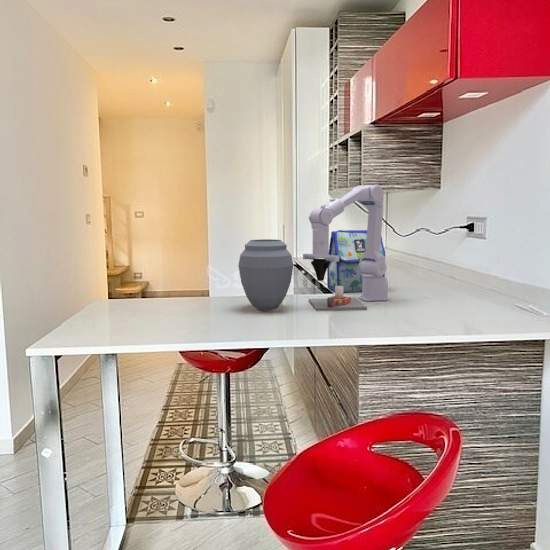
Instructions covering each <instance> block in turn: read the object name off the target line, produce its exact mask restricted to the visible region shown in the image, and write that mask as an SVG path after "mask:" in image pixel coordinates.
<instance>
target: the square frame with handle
mask: <svg viewBox="0 0 550 550" xmlns="http://www.w3.org/2000/svg"><path fill="white" fill-rule="evenodd" d="M351 298H352V296H344V295H343V299H335V295H332V296H330V297H328V296H327V306H328V307H334V306H336V305H337V300H342V304H347V303H349V302H351Z"/></svg>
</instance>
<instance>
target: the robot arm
mask: <svg viewBox="0 0 550 550" xmlns="http://www.w3.org/2000/svg"><path fill="white" fill-rule="evenodd" d="M384 195H385V191H384V190H383V188H382V187H381V185H379V184H367V185H365V184H363V185H361V184H360V185H359V184H358V185H357V186H355V187H353V188H352V189H351V190H350V191H349V192H347V193H346V194H345V195H343V196H342V197H341V198H337V197H335V198H333V197H331V198H330V199H329V201H328V202H327V203H325V204H322V205H320V208H313V209H312V210H311V212H310V214H309V216H308V220H309V223H310V224H311V230H312V253H303V254H302V259H303V260H310V264H311V265H312V268H313V270H314V273H315V275H316V279H317V281H319V282H323V281H324V280H325V277H326V274H327V273H326V272H327V268H328V266H329V264H330V261H334V262H337V261H339V256H335V255H329V246H330V239H329V237H330V232H329V231H330V224H331V223H332V222H333V220H334V219H335V218H336V217H337V216H339V215H340V214H342V213H344V211H345V208H346V207H347V206H349V205H351V204H354V203H355V202H357V203H359V204H360V205H362V206H364V208H366V210H367V211H368V213H367V215H368V216H367V227H366V228H367V229H366V230H367V240H366V251H365V252H364V253H363V254H362V255H361V259H360V262H359V265H358V269H359V272H360V273H361V276H363V284H362V291H361V293H362V295H361V296H359V297H358V298H359V299H361V300H362V301H364V302H371V301H372V302H373V301H374V302H375V301H376V302H377V301H380V302H381V301H389V299H388V298H389V295H388V294H389V288H388V287H389V282H388V278H387V277H386V276H385V277H383V275H384V274H385V275H386V271H387V265H386V264H387V263H386V256H385V257H384V256H383V255H382V254H381V253H380V245H381V236H382V232H383V231H382V230H383V217H384V216H383V215H384ZM370 259H375V260H370Z"/></svg>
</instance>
